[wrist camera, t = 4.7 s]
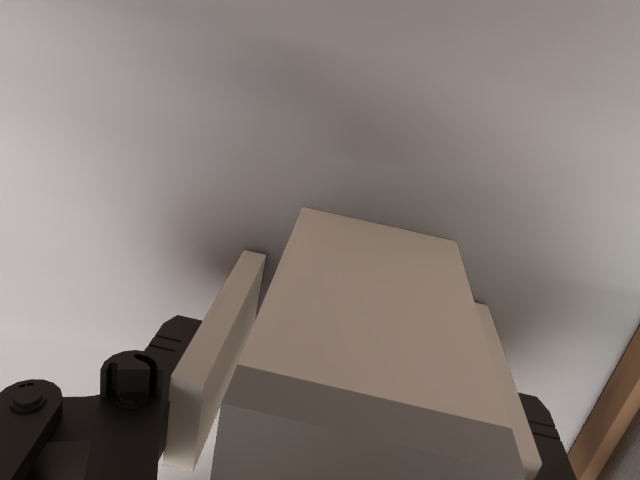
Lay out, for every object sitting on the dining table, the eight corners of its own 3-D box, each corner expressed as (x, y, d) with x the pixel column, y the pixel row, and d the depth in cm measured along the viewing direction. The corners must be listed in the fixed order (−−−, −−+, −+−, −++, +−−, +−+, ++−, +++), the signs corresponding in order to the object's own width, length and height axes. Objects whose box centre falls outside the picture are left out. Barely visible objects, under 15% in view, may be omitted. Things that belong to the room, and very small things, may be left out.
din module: (302, 206, 17) (221, 403, 8) (456, 241, 16) (525, 474, 8) (273, 355, 19) (190, 616, 11) (406, 386, 19) (422, 673, 11)
